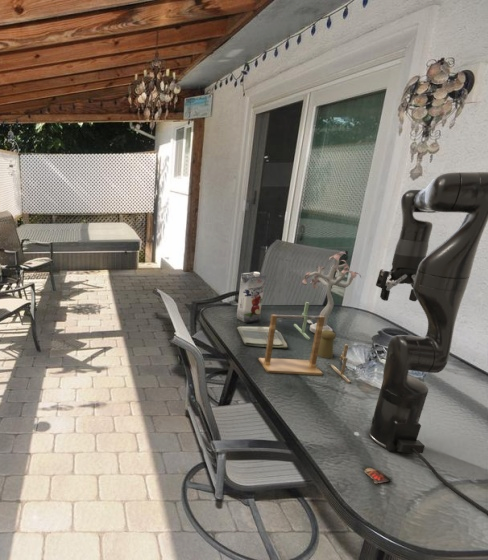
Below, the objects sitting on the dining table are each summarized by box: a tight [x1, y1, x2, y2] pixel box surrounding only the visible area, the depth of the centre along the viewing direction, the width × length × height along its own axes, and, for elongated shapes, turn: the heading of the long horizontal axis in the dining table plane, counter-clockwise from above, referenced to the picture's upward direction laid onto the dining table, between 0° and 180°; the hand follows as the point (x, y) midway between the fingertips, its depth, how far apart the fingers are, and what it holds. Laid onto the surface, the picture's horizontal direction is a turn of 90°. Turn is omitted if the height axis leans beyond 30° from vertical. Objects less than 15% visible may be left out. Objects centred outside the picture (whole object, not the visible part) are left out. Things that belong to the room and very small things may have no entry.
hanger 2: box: [330, 343, 352, 384], centre depth 134 cm, size 12×1×13 cm, turn 172°
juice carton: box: [236, 271, 267, 324], centre depth 184 cm, size 9×10×27 cm
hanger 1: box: [293, 301, 311, 341], centre depth 135 cm, size 12×1×13 cm, turn 172°
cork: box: [317, 330, 337, 359], centre depth 149 cm, size 6×6×11 cm
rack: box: [258, 313, 325, 376], centre depth 139 cm, size 10×20×23 cm, turn 82°
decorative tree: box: [301, 251, 362, 334], centre depth 168 cm, size 28×24×40 cm
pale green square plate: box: [236, 326, 289, 350], centre depth 166 cm, size 19×18×3 cm
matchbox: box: [363, 467, 392, 485], centre depth 91 cm, size 5×5×1 cm
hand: (398, 300), depth 118 cm, fingers open, 8 cm apart
